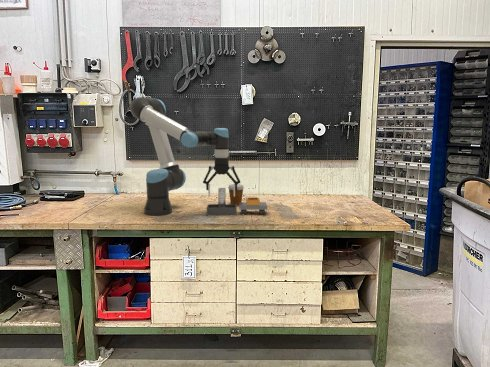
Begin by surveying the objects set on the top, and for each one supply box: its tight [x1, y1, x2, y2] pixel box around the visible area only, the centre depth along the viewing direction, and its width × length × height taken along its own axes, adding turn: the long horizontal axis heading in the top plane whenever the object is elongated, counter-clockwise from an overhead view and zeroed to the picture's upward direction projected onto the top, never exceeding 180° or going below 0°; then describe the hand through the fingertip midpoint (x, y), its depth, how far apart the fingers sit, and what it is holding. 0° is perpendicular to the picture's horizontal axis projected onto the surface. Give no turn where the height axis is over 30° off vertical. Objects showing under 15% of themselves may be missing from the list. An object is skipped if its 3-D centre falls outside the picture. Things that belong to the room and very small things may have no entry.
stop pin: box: [217, 187, 227, 208], centre depth 205 cm, size 4×4×13 cm
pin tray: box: [206, 203, 238, 216], centre depth 206 cm, size 16×9×4 cm, turn 92°
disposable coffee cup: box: [227, 183, 245, 207], centre depth 226 cm, size 10×10×12 cm
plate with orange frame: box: [238, 197, 268, 216], centre depth 206 cm, size 15×9×8 cm, turn 92°
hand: (221, 196), depth 205 cm, fingers open, 13 cm apart
